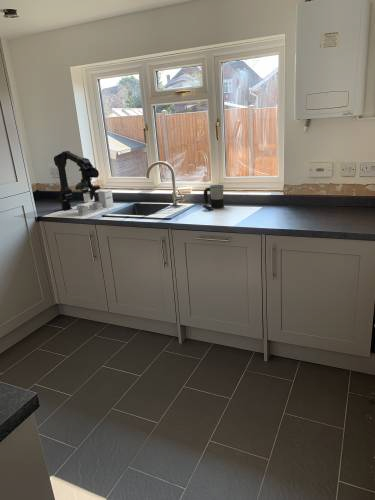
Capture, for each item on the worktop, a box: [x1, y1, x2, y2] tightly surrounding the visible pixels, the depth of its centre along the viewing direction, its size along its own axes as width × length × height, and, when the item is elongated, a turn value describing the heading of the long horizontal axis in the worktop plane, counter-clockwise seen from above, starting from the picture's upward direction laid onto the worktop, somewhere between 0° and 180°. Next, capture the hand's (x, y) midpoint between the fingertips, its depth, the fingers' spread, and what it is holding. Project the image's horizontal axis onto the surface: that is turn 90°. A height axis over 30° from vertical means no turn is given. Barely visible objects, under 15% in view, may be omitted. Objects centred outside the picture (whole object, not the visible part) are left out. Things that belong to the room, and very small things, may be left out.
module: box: [82, 192, 96, 203], centre depth 281 cm, size 4×6×6 cm
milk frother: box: [202, 184, 225, 211], centre depth 265 cm, size 14×16×15 cm
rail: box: [76, 201, 106, 217], centre depth 283 cm, size 6×22×6 cm, turn 147°
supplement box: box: [97, 189, 114, 209], centre depth 295 cm, size 7×7×13 cm
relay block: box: [76, 203, 85, 211], centre depth 298 cm, size 4×4×4 cm
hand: (89, 199), depth 282 cm, fingers closed on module, 4 cm apart
